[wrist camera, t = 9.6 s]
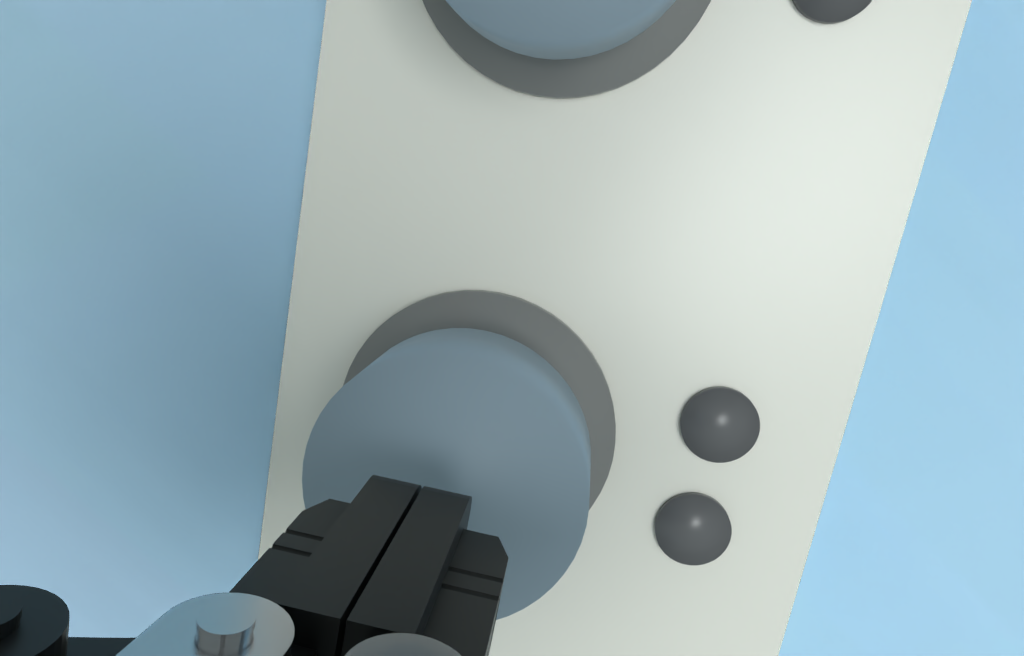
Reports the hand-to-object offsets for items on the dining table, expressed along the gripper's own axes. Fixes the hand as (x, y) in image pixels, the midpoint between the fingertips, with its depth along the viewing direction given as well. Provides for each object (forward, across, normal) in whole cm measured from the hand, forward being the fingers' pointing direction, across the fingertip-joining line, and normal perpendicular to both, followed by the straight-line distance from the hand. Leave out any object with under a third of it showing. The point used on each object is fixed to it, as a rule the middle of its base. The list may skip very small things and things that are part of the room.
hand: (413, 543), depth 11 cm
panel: (+8, -2, 0) cm, 9 cm away
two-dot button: (+4, 0, 0) cm, 4 cm away
